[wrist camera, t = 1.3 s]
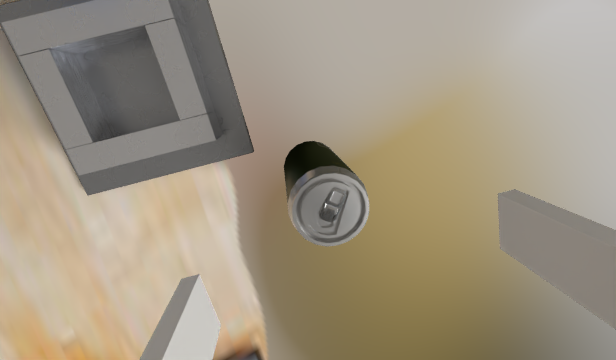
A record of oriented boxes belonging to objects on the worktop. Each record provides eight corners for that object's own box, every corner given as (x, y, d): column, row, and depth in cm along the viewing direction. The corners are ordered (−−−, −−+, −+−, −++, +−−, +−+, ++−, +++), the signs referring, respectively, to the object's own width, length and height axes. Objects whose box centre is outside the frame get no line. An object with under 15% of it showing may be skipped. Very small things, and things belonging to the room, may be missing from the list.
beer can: (295, 131, 28) (308, 155, 17) (344, 151, 29) (387, 187, 18) (275, 180, 30) (275, 234, 18) (323, 198, 31) (350, 259, 19)
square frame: (254, 150, 28) (250, 159, 25) (94, 192, 28) (65, 207, 24) (197, -36, 24) (181, -61, 20) (3, 10, 23) (-51, -6, 19)
